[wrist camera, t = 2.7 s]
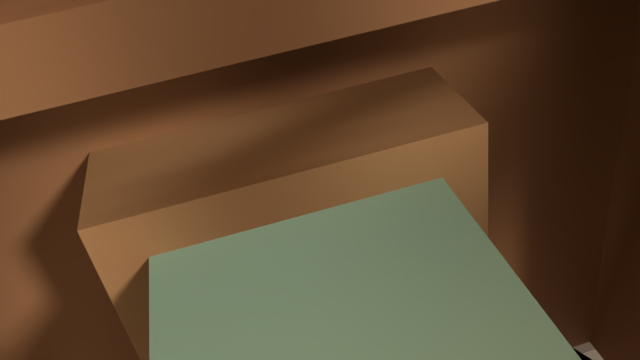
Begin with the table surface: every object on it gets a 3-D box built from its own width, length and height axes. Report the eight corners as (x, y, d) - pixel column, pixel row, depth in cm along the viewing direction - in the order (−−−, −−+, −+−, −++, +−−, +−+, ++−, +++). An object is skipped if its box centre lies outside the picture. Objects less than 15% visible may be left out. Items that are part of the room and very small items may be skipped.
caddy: (683, -185, 10) (891, -176, 7) (605, 310, 17) (698, 416, 14) (-344, 33, 9) (-592, 157, 6) (22, 489, 15) (-7, 650, 12)
